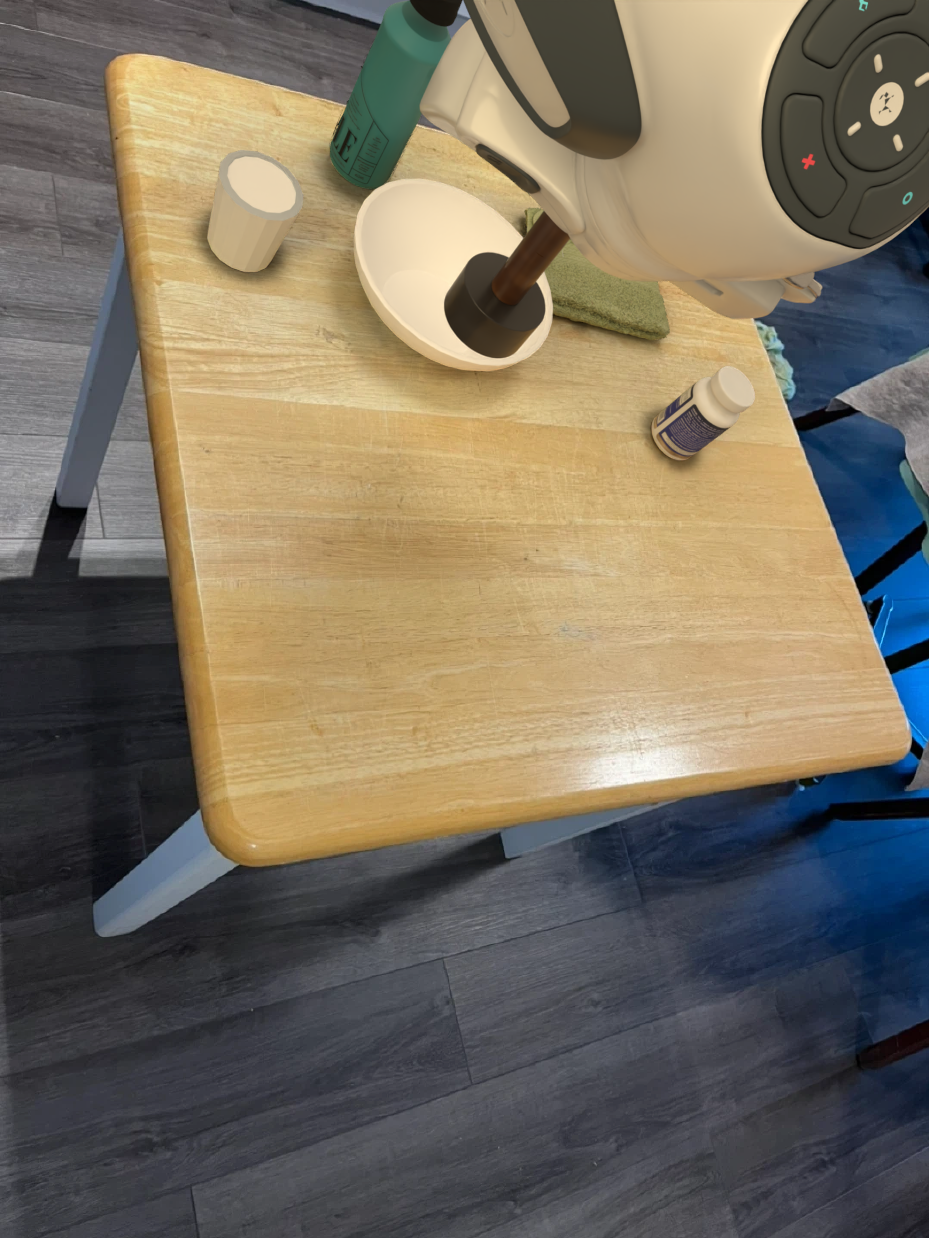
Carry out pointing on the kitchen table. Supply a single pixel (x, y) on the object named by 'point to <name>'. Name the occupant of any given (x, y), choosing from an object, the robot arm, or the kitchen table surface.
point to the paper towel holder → (503, 293)
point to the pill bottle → (702, 413)
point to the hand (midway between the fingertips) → (572, 199)
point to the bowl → (431, 265)
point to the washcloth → (602, 294)
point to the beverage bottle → (391, 90)
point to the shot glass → (252, 209)
